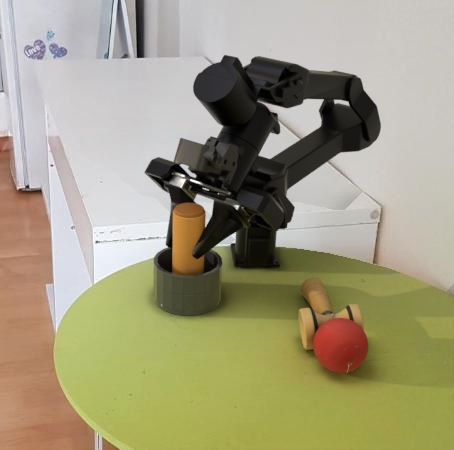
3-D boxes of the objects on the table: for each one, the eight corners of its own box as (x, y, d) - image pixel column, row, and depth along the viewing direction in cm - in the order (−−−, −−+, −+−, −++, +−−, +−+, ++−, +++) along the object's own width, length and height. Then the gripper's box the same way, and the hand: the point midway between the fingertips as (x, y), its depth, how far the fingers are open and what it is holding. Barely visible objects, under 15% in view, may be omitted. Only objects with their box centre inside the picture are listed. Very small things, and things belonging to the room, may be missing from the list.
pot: (153, 281, 100) (153, 244, 98) (218, 280, 101) (219, 244, 99) (153, 316, 93) (153, 277, 90) (223, 315, 93) (224, 277, 91)
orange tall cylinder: (179, 282, 99) (180, 199, 94) (207, 289, 98) (210, 205, 92) (167, 297, 96) (167, 212, 90) (196, 304, 94) (198, 217, 89)
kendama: (275, 308, 97) (304, 377, 80) (286, 263, 96) (319, 324, 79) (332, 317, 99) (373, 387, 81) (344, 272, 97) (389, 334, 80)
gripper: (153, 96, 94) (92, 203, 91) (277, 129, 84) (213, 251, 81) (192, 140, 103) (138, 238, 100) (308, 174, 93) (252, 286, 90)
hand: (181, 252), depth 93 cm, fingers closed on orange tall cylinder, 4 cm apart
